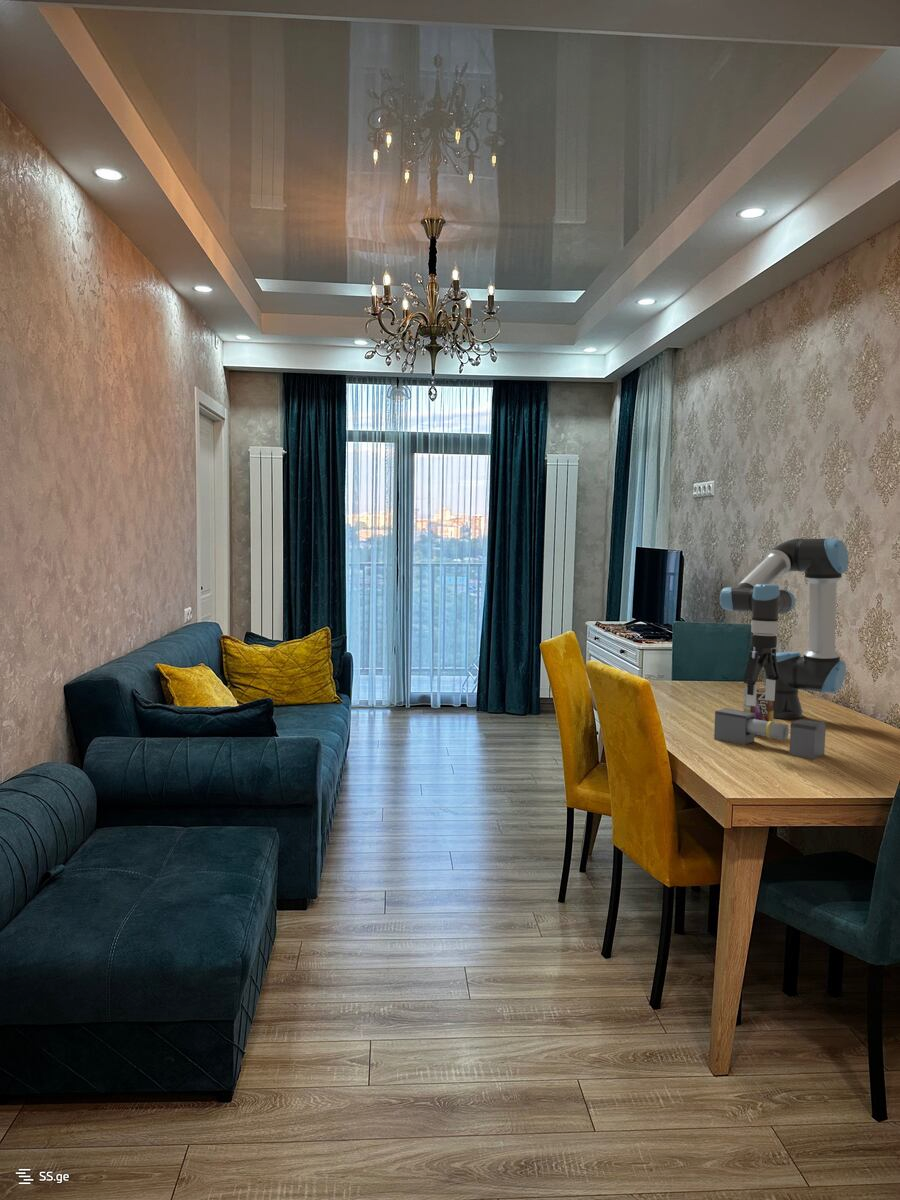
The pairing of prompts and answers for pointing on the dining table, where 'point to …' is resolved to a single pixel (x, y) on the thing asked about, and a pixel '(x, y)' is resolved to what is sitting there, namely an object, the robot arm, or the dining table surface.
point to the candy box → (760, 705)
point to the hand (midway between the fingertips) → (760, 702)
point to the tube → (767, 728)
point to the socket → (807, 738)
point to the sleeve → (733, 726)
